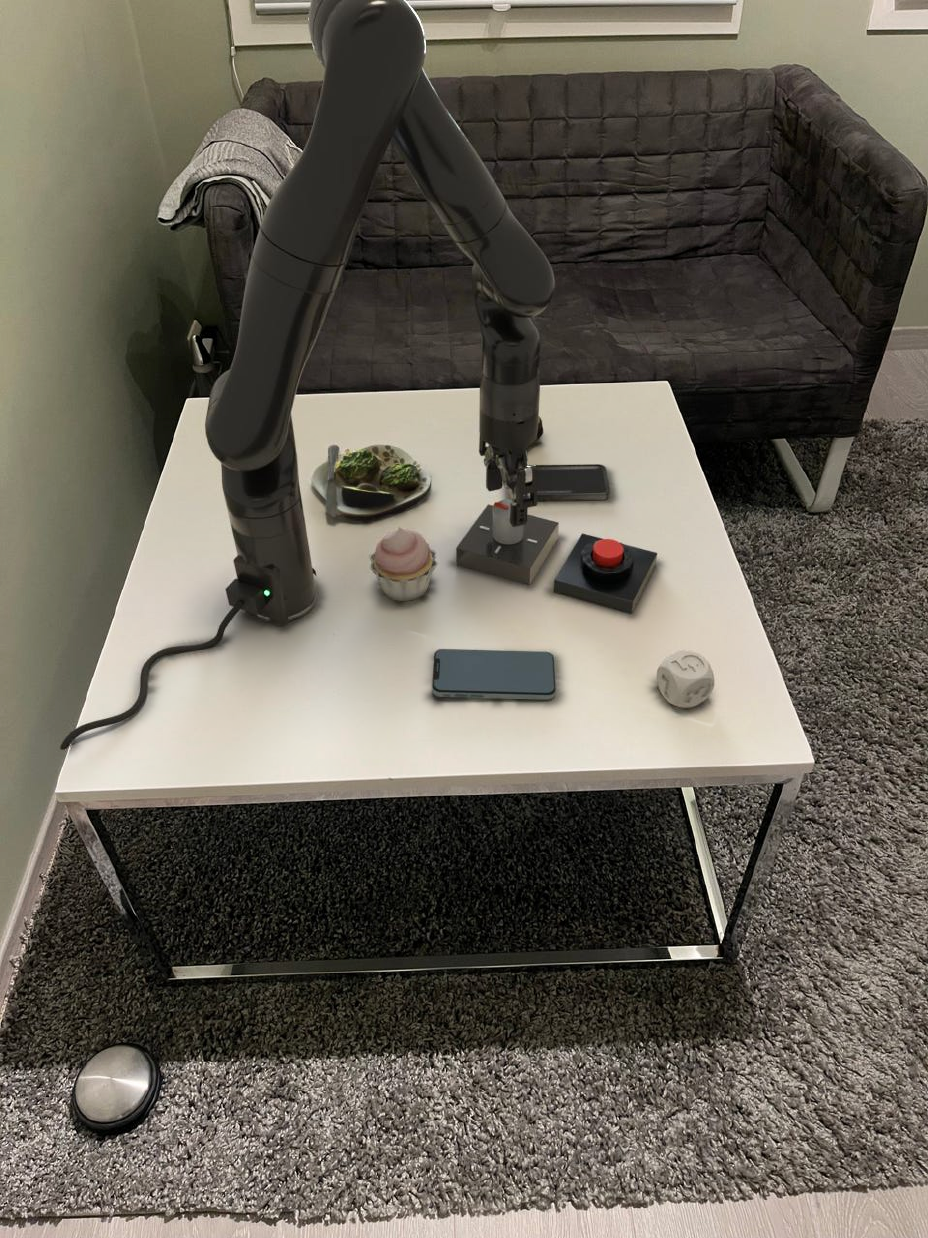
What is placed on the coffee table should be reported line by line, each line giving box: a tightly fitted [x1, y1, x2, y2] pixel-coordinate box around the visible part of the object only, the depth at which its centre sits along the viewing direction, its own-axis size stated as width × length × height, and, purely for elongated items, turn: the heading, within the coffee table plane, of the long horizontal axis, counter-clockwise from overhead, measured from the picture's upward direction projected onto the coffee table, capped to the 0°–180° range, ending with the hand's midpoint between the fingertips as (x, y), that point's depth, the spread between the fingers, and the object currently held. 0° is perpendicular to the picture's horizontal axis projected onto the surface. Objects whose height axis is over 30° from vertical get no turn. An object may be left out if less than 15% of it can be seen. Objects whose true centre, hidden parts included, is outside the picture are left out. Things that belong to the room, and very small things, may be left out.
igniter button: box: [593, 538, 623, 567], centre depth 136 cm, size 4×4×2 cm
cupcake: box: [368, 527, 439, 602], centre depth 135 cm, size 9×9×10 cm
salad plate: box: [310, 443, 433, 522], centre depth 155 cm, size 19×18×5 cm
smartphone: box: [431, 648, 557, 701], centre depth 125 cm, size 8×2×15 cm
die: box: [656, 649, 715, 709], centre depth 122 cm, size 5×5×5 cm
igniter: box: [553, 533, 658, 615], centre depth 138 cm, size 11×11×4 cm
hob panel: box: [455, 503, 560, 586], centre depth 142 cm, size 11×11×3 cm
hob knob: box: [492, 498, 524, 545], centre depth 140 cm, size 4×4×5 cm
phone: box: [509, 463, 611, 502], centre depth 154 cm, size 8×1×15 cm
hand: (506, 506), depth 138 cm, fingers open, 8 cm apart
